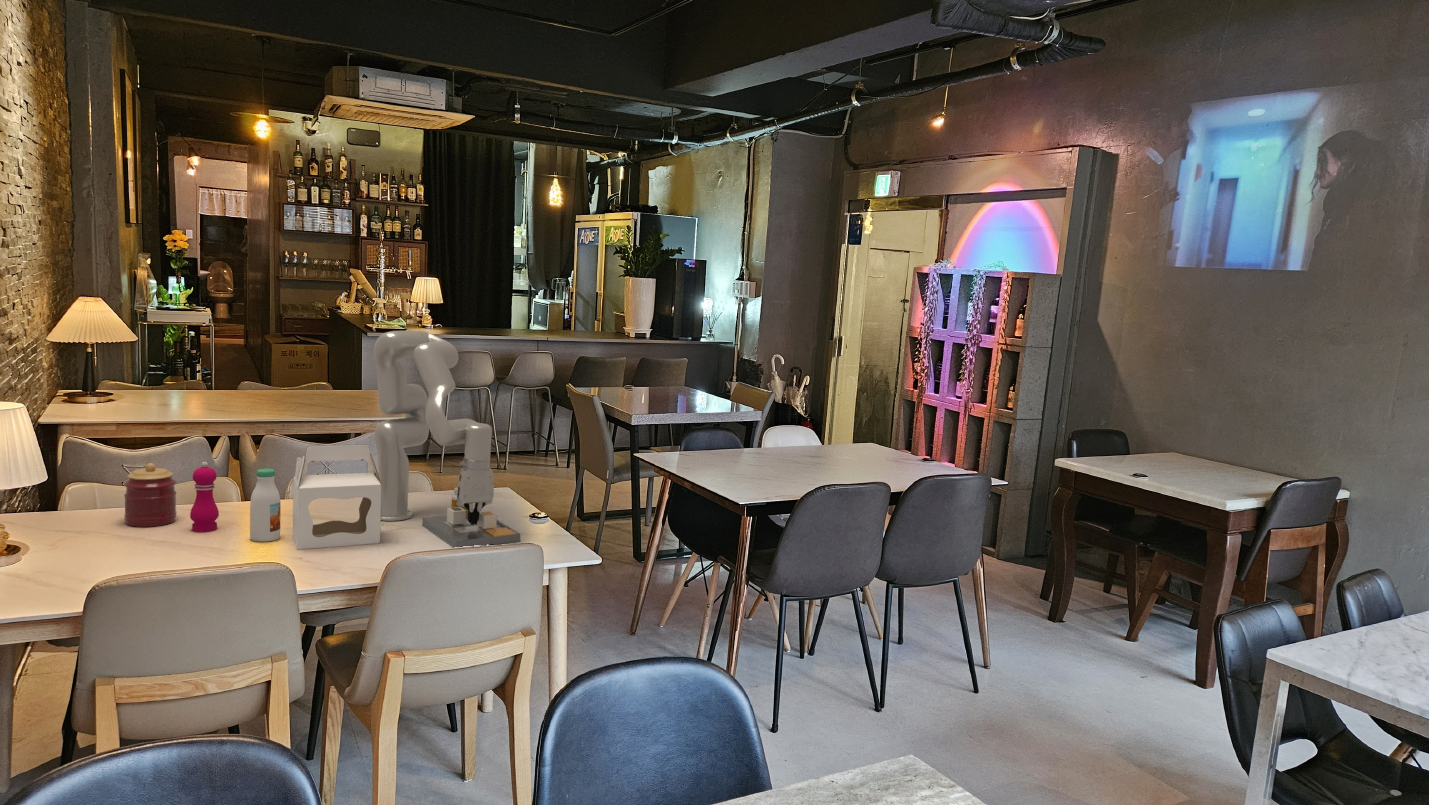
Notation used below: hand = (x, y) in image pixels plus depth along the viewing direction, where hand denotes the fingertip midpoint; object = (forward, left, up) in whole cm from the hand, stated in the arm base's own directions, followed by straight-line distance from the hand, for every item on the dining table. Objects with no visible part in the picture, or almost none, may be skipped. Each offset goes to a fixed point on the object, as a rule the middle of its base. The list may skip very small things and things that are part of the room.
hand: (472, 523), depth 267 cm
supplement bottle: (+5, +23, -4) cm, 23 cm away
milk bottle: (-53, +21, -4) cm, 57 cm away
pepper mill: (-66, +37, -4) cm, 76 cm away
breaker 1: (-2, +8, -2) cm, 8 cm away
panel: (+1, +4, -4) cm, 5 cm away
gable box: (-36, +12, -4) cm, 38 cm away
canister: (-78, +51, -4) cm, 93 cm away
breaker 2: (+4, 0, -2) cm, 5 cm away
